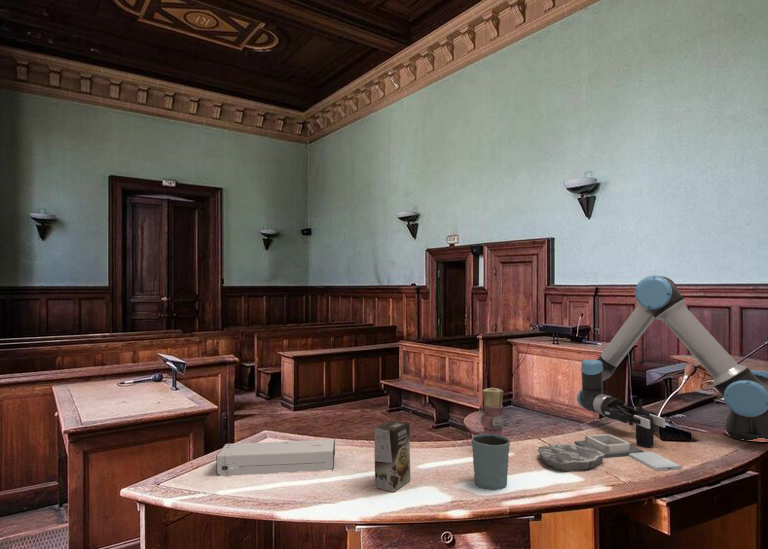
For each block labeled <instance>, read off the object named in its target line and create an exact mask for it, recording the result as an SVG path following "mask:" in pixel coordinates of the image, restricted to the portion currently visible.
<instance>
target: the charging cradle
mask: <svg viewBox="0 0 768 549" xmlns="http://www.w3.org/2000/svg"><path fill="white" fill-rule="evenodd" d="M584 439H585V440H577V441H576V440H574V445H575V444H576V445H578V446H583V447H589V448H592V449H595V450H598V451H600V452H602V453H604V454H605V456H604V458H603V459H606V458H607V459H608V458H618V457H629V454H630V453H639V452H645V451H644V450H642V449H640V448H638V447H636V446H633V443H631V442H629V441H626V440H624V439H621V438H619V437H617V436H616V435H615V436H614V435H613V434H610V433H605V434H603V433H602V434H593V435H592V434H591V435H585V436H584Z"/></svg>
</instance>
